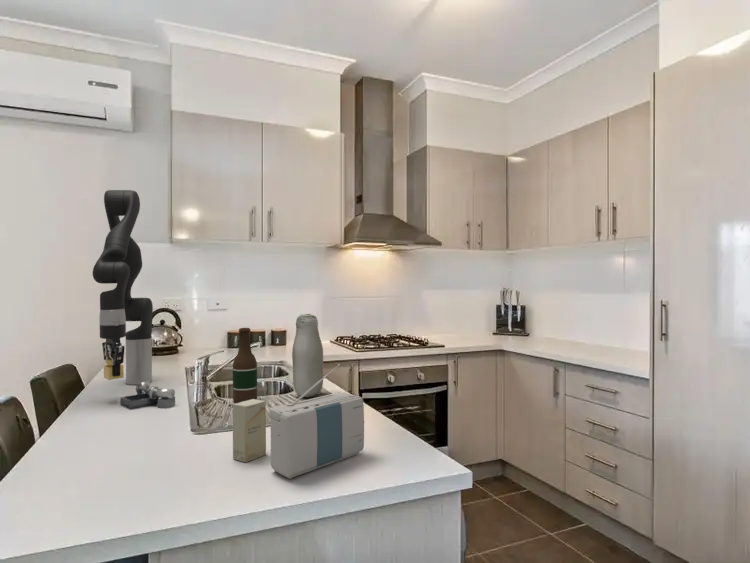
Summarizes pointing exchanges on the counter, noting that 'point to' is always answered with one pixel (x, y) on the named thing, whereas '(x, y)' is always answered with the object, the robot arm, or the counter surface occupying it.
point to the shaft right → (162, 396)
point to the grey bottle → (307, 356)
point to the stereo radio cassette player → (315, 432)
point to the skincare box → (249, 430)
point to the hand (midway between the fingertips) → (113, 374)
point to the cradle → (137, 401)
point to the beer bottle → (244, 370)
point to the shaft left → (143, 387)
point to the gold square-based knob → (108, 370)
